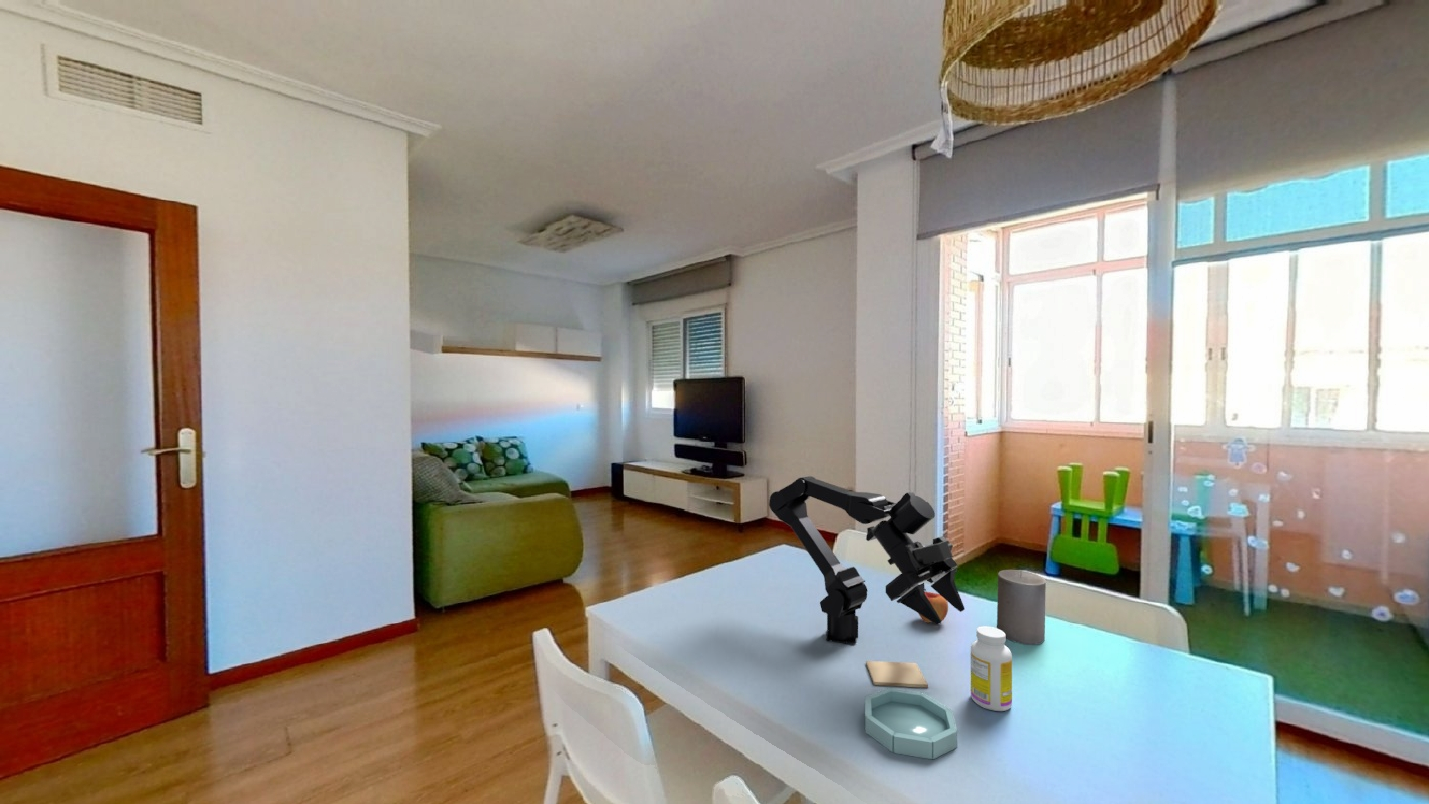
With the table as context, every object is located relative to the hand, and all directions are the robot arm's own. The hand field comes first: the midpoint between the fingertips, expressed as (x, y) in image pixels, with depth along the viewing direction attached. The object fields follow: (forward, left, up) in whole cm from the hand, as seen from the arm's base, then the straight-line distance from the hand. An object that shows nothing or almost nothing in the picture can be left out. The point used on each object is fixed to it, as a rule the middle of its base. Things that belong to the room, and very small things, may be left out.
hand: (951, 616), depth 101 cm
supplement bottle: (+6, -4, -13) cm, 15 cm away
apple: (0, +29, -13) cm, 32 cm away
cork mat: (-10, +1, -13) cm, 16 cm away
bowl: (-9, -16, -13) cm, 23 cm away
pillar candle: (+19, +27, -13) cm, 35 cm away
